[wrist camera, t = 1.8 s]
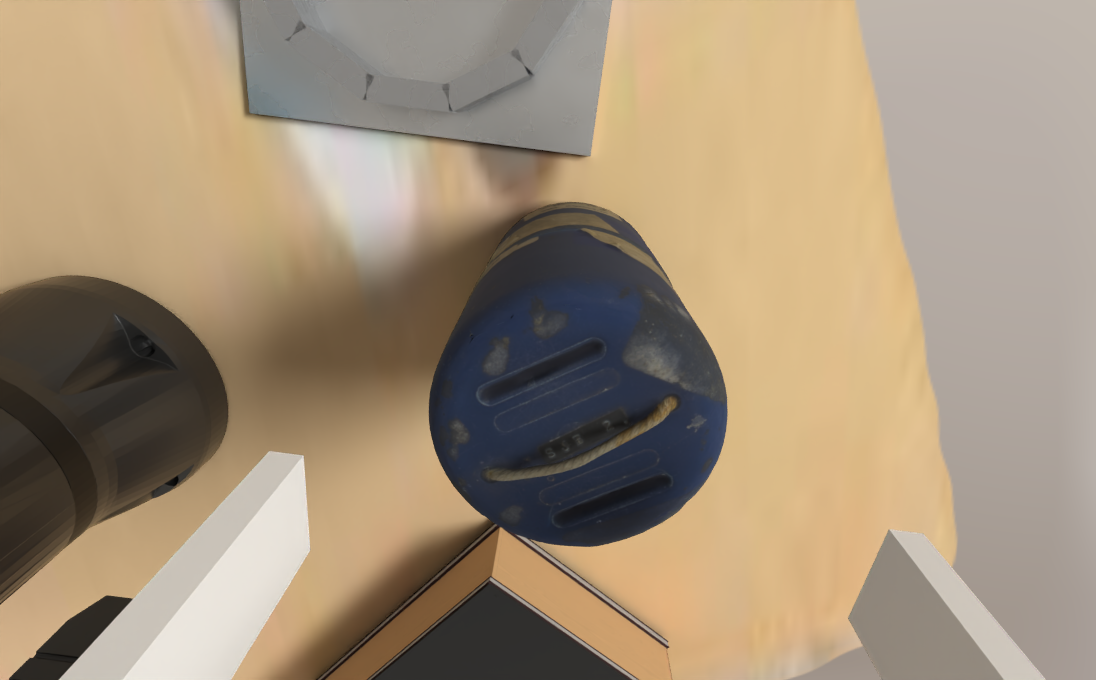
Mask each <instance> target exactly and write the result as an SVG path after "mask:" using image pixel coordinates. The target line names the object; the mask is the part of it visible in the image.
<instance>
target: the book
mask: <svg viewBox="0 0 1096 680" xmlns="http://www.w3.org/2000/svg"><path fill="white" fill-rule="evenodd" d="M667 648H669V646H668V641H667V640H666V639H664V638H663V637H662V636H660V635H659V634H658V633H656V632H655V631H653V630H652V629H651V628H649V627H648V626H647V625H645V624H644V623H643V622H641V621H640V620H639V619H637V618H636V617H634V616H633V615H632V614H630V613H629V612H628V611H626V610H625V609H624V608H622V607H621V606H620V605H618V604H617V603H615V602H614V601H613V600H611V599H610V598H609V597H607V596H606V595H605V594H603V593H602V592H600V591H599V590H598V589H596V588H595V587H594V586H592V585H591V584H590V583H588V582H587V581H586V580H584V579H583V578H581V577H580V576H579V575H577V574H576V573H575V572H573V571H572V570H571V569H569V568H568V567H566V566H565V565H564V564H562V563H561V562H560V561H558V560H557V559H556V558H554V557H553V556H552V555H550V554H549V553H547V552H546V551H545V550H543V549H542V548H541V547H539V546H538V545H537V544H535V543H534V542H532V541H531V540H530V539H528V538H525V537H522V536H519V535H516V534H514V533H512V532H509V531H507V530H505V529H503V528H501V527H500V526H498V525H496V524H495V523H494V524H493V525H492V526H491V527H490V528H489V529H487V530H486V531H485V532H484V533H483V534H482V535H481V536H480V537H478V538H477V539H476V540H475V541H474V542H473V543H472V544H470V545H469V546H468V547H467V548H466V549H465V550H464V551H463V552H461V553H460V554H459V555H458V556H457V557H456V558H455V559H453V560H452V561H451V562H450V563H449V564H448V565H447V566H445V567H444V568H443V569H442V570H441V571H440V572H439V573H438V574H436V575H435V576H434V577H433V578H432V579H431V580H430V581H428V582H427V583H426V584H425V585H424V586H423V587H422V588H420V589H419V590H418V591H417V592H416V593H415V594H414V595H413V596H411V597H410V598H409V599H408V600H407V601H406V602H405V603H403V604H402V605H401V606H400V607H399V608H398V609H397V610H396V611H394V612H393V613H392V614H391V615H390V616H389V617H388V618H386V619H385V620H384V621H383V622H382V623H381V624H380V625H378V626H377V627H376V628H375V629H374V630H373V631H372V632H371V633H369V634H368V635H367V636H366V637H365V638H364V639H363V640H361V641H360V642H359V643H358V644H357V645H356V646H355V647H353V648H352V649H351V650H350V651H349V652H348V653H347V654H346V655H344V656H343V657H342V658H341V659H340V660H339V661H338V662H336V663H335V664H334V665H333V666H332V667H331V668H330V669H329V670H327V671H326V672H325V673H324V674H323V675H322V676H321V677H319V678H318V679H317V680H672V675H671V670H670V664H669V659H668V653H667Z"/></svg>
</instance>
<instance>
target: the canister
mask: <svg viewBox="0 0 1096 680" xmlns="http://www.w3.org/2000/svg"><path fill="white" fill-rule="evenodd" d="M429 424H430V431H431V436H432V440H433V444H434V448H435V451H436V454H437V456H438V459H439V461H440V463H441V465H442V467H443V469H444V471H445V473H446V475H447V476H448V478H449V480H450V481H451V483H452V484H453V486H454V487H455V488H456V489H457V491H458V492H459V493H460V494H461V495H462V496H463V498H464V499H465V500H466V501H467V502H468V503H469V504H470V505H471V506H472V507H473V508H475V509H476V510H477V511H478V512H479V513H481V514H482V515H484V516H485V517H487V518H488V519H489V520H490V521H492V522H493V523H495V524H496V525H498V526H500V527H501V528H503V529H505V530H507V531H509V532H512V533H514V534H516V535H519V536H522V537H525V538H528V539H532V540H535V541H538V542H543V543H548V544H554V545H564V546H582V547H591V546H600V545H604V544H609V543H613V542H616V541H620V540H623V539H627V538H629V537H632V536H635V535H637V534H640V533H643V532H645V531H647V530H649V529H650V528H652V527H654V526H656V525H658V524H660V523H662V522H663V521H665V520H667V519H668V518H670V517H671V516H673V515H674V514H676V513H677V512H678V511H679V510H680V509H681V508H682V507H683V506H684V504H685V503H686V502H687V501H689V500H690V499H691V498H692V497H693V496H694V495H695V494H696V493H697V492H698V490H699V489H700V488H701V487H702V486H703V484H704V483H705V482H706V480H707V479H708V477H709V475H710V473H711V472H712V470H713V468H714V466H715V464H716V462H717V460H718V458H719V455H720V452H721V449H722V446H723V443H724V438H725V433H726V425H727V395H726V388H725V384H724V380H723V376H722V373H721V370H720V367H719V364H718V362H717V359H716V357H715V355H714V353H713V351H712V349H711V347H710V345H709V343H708V342H707V340H706V338H705V337H704V335H703V333H702V332H701V331H700V329H699V328H698V326H697V325H696V323H695V322H694V320H693V319H692V317H691V316H690V314H689V312H688V311H687V309H686V308H685V306H684V304H683V303H682V301H681V300H680V298H679V296H678V295H677V293H676V292H675V290H674V289H673V287H672V284H671V282H670V280H669V278H668V277H667V275H666V273H665V272H664V270H663V269H662V267H661V265H660V264H659V262H658V261H657V259H656V258H655V256H654V255H653V253H652V252H651V251H650V249H649V248H648V247H647V245H646V244H645V242H644V241H643V239H642V238H641V236H640V235H639V234H638V232H637V231H636V230H635V229H634V228H633V227H632V226H631V225H630V224H629V223H628V222H626V221H625V220H624V219H622V218H621V217H620V216H618V215H617V214H615V213H613V212H611V211H609V210H607V209H604V208H601V207H598V206H595V205H591V204H586V203H579V202H566V203H557V204H553V205H549V206H545V207H543V208H540V209H538V210H536V211H534V212H532V213H530V214H528V215H526V216H525V217H524V218H522V219H521V220H520V221H519V222H518V223H516V224H515V225H514V226H513V227H512V228H511V229H510V230H509V231H508V232H507V234H506V235H505V236H504V238H503V239H502V240H501V242H500V243H499V245H498V247H497V249H496V250H495V252H494V254H493V255H492V257H491V259H490V261H489V263H488V264H487V266H486V269H485V271H484V272H483V273H482V275H481V276H480V278H479V280H478V282H477V283H476V285H475V287H474V289H473V291H472V293H471V295H470V297H469V300H468V302H467V304H466V306H465V308H464V310H463V312H462V314H461V316H460V318H459V320H458V322H457V324H456V326H455V328H454V330H453V332H452V334H451V336H450V338H449V340H448V342H447V344H446V347H445V349H444V351H443V353H442V356H441V358H440V361H439V363H438V365H437V368H436V371H435V374H434V378H433V382H432V386H431V391H430V399H429Z"/></svg>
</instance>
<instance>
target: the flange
mask: <svg viewBox="0 0 1096 680" xmlns="http://www.w3.org/2000/svg"><path fill="white" fill-rule="evenodd" d="M239 2H240V13H241V24H242V35H243V46H244V57H245V68H246V79H247V90H248V101H249V112H250V113H253V114H261V115H269V116H277V117H285V118H293V119H301V120H309V121H317V122H324V123H332V124H340V125H348V126H356V127H364V128H372V129H380V130H388V131H396V132H404V133H411V134H419V135H427V136H435V137H443V138H451V139H459V140H467V141H475V142H483V143H491V144H498V145H506V146H514V147H522V148H530V149H538V150H546V151H554V152H562V153H570V154H578V155H585V156H590V155H591V148H592V140H593V133H594V126H595V119H596V112H597V105H598V98H599V90H600V83H601V76H602V69H603V62H604V55H605V48H606V40H607V33H608V26H609V19H610V12H611V5H612V0H239Z"/></svg>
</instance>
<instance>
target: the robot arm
mask: <svg viewBox="0 0 1096 680" xmlns="http://www.w3.org/2000/svg"><path fill="white" fill-rule="evenodd" d="M227 420H228V403H227V396H226V392H225V388H224V384H223V381H222V378H221V376H220V373H219V371H218V369H217V367H216V365H215V363H214V361H213V359H212V358H211V356H210V354H209V353H208V351H207V350H206V348H205V347H204V346H203V344H202V343H201V342H200V340H199V339H198V338H197V337H196V336H195V334H194V333H193V332H192V331H191V330H190V329H189V328H188V327H187V326H186V325H185V324H184V323H183V322H182V321H181V320H180V319H178V318H177V317H176V316H175V315H174V314H172V313H171V312H170V311H169V310H167V309H166V308H164V307H163V306H162V305H160V304H159V303H157V302H155V301H154V300H152V299H150V298H149V297H147V296H145V295H143V294H141V293H139V292H137V291H135V290H133V289H131V288H128V287H126V286H123V285H120V284H118V283H114V282H111V281H108V280H103V279H99V278H93V277H85V276H60V277H53V278H49V279H44V280H41V281H38V282H35V283H32V284H28V285H25V286H22V287H19V288H16V289H13V290H9V291H7V292H5V293H3V294H0V604H2V603H3V602H4V601H5V600H6V599H7V598H8V597H10V596H11V595H12V594H13V593H14V592H15V591H16V590H18V589H19V588H20V587H21V586H22V585H23V584H25V583H26V582H27V581H28V580H29V579H30V578H31V577H33V576H34V575H35V574H36V573H37V572H38V571H39V570H41V569H42V568H43V567H44V566H45V565H46V564H47V563H49V562H50V561H51V560H52V559H53V558H54V557H55V556H57V555H58V554H59V553H60V552H61V551H62V550H63V549H64V548H65V547H67V546H68V545H69V544H70V543H71V542H73V541H74V540H75V539H76V538H77V537H79V536H80V535H81V534H82V533H84V532H85V531H86V530H87V529H88V528H90V527H92V526H95V525H97V524H99V523H101V522H103V521H106V520H108V519H110V518H112V517H114V516H117V515H119V514H121V513H123V512H125V511H128V510H130V509H132V508H134V507H136V506H139V505H141V504H143V503H145V502H147V501H149V500H150V499H152V498H156V497H158V496H161V495H163V494H165V493H167V492H169V491H171V490H173V489H175V488H176V487H178V486H179V485H181V484H182V483H184V482H185V481H186V480H188V479H189V478H190V477H191V476H192V475H193V474H194V473H195V472H196V471H198V470H199V469H200V468H201V467H202V466H203V465H204V464H205V463H206V462H207V461H208V460H209V459H210V458H211V457H212V456H213V455H214V453H215V452H216V451H217V449H218V448H219V446H220V444H221V442H222V440H223V437H224V435H225V431H226V427H227ZM309 552H310V541H309V526H308V512H307V498H306V484H305V469H304V455H296V454H288V453H280V452H272V451H269V452H268V453H267V454H266V455H265V456H264V457H263V459H262V460H261V461H260V462H259V463H258V464H257V465H256V466H255V467H254V468H253V469H252V470H251V472H250V473H249V474H248V475H247V476H246V477H245V478H244V479H243V480H242V481H241V482H240V484H239V485H238V486H237V487H236V488H235V489H234V490H233V491H232V492H231V493H230V494H229V495H228V497H227V498H226V499H225V500H224V501H223V502H222V503H221V504H220V505H219V506H218V507H217V508H216V510H215V511H214V512H213V513H212V514H211V515H210V516H209V517H208V518H207V519H206V520H205V522H204V523H203V524H202V525H201V526H200V527H199V528H198V529H197V530H196V531H195V532H194V533H193V535H192V536H191V537H190V538H189V539H188V540H187V541H186V542H185V543H184V544H183V545H182V547H181V548H180V549H179V550H178V551H177V552H176V553H175V554H174V555H173V556H172V557H171V558H170V560H169V561H168V562H167V563H166V564H165V565H164V566H163V567H162V568H161V569H160V570H159V571H158V573H157V574H156V575H155V576H154V577H153V578H152V579H151V580H150V581H149V582H148V583H147V585H146V586H145V587H144V588H143V589H142V590H141V591H140V592H139V593H138V594H137V595H136V596H135V598H134V599H131V598H123V597H115V596H105V597H103V598H102V599H100V600H99V601H97V602H96V603H94V604H93V605H91V606H89V607H88V608H86V609H85V610H83V611H82V612H80V613H79V614H77V615H75V616H74V617H72V618H71V619H69V620H68V621H67V622H66V623H65V624H64V625H63V626H62V627H61V628H60V629H59V630H58V631H57V632H56V633H55V634H54V635H53V636H52V637H51V638H50V639H49V640H48V641H46V642H45V643H44V644H43V645H42V646H41V647H40V648H39V649H38V650H37V651H36V655H35V656H34V657H33V658H29V659H28V660H27V661H26V662H25V663H24V664H23V665H22V666H21V667H20V668H19V669H18V670H17V671H16V672H15V673H14V674H13V675H12V676H11V677H10V678H9V680H231V679H232V677H233V675H234V674H235V672H236V670H237V669H238V667H239V666H240V664H241V662H242V661H243V659H244V657H245V656H246V654H247V653H248V651H249V649H250V648H251V646H252V644H253V643H254V641H255V640H256V638H257V636H258V635H259V633H260V631H261V630H262V628H263V626H264V625H265V623H266V622H267V620H268V618H269V617H270V615H271V613H272V612H273V610H274V609H275V607H276V605H277V604H278V602H279V600H280V599H281V597H282V596H283V594H284V592H285V591H286V589H287V587H288V586H289V584H290V583H291V581H292V579H293V578H294V576H295V574H296V573H297V571H298V569H299V568H300V566H301V565H302V563H303V561H304V560H305V558H306V556H307V555H308V553H309ZM848 619H849V621H850V623H851V624H852V626H853V628H854V630H855V632H856V634H857V635H858V637H859V639H860V641H861V643H862V645H863V646H864V648H865V650H866V652H867V654H868V656H869V657H870V659H871V661H872V663H873V665H874V667H875V668H876V670H877V672H878V674H879V676H880V677H881V679H882V680H1046V679H1045V678H1044V677H1043V676H1042V675H1041V673H1040V672H1039V671H1038V670H1037V669H1036V667H1035V666H1034V665H1033V664H1032V663H1031V662H1030V660H1029V659H1028V658H1027V657H1026V656H1025V655H1024V653H1023V652H1022V651H1021V650H1020V648H1019V647H1018V646H1017V645H1016V644H1015V642H1014V641H1013V640H1012V639H1011V638H1010V636H1009V635H1008V634H1007V633H1006V632H1005V631H1004V630H1003V628H1002V627H1001V626H1000V625H999V623H998V622H997V621H996V620H995V619H994V618H993V616H992V615H991V614H990V613H989V611H988V610H987V609H986V608H985V607H984V606H983V604H982V603H981V602H980V601H979V600H978V598H977V597H976V596H975V595H974V594H973V592H972V591H971V590H970V589H969V588H968V586H967V585H966V584H965V583H964V582H963V580H962V579H961V578H960V577H959V576H958V574H957V573H956V572H955V571H954V570H953V569H952V567H951V566H950V565H949V564H948V563H947V561H946V560H945V559H944V558H943V557H942V555H941V554H940V553H939V552H938V551H937V549H936V548H935V547H934V546H933V545H932V543H931V542H930V541H929V540H928V539H927V538H926V536H925V535H924V534H922V533H914V532H907V531H899V530H891V529H889V531H888V533H887V535H886V537H885V539H884V541H883V544H882V546H881V548H880V550H879V552H878V554H877V557H876V559H875V561H874V563H873V565H872V567H871V570H870V572H869V574H868V576H867V578H866V580H865V583H864V585H863V587H862V589H861V591H860V593H859V596H858V598H857V600H856V602H855V604H854V606H853V609H852V611H851V613H850V615H849V617H848Z"/></svg>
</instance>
